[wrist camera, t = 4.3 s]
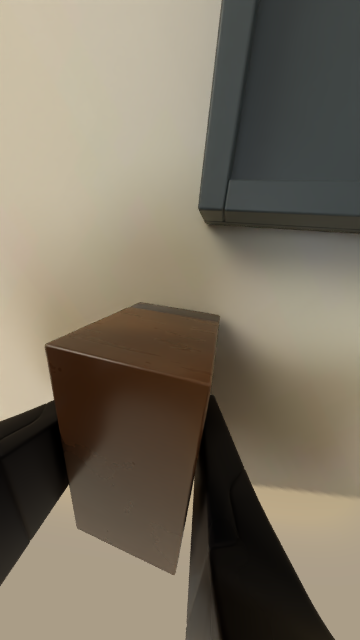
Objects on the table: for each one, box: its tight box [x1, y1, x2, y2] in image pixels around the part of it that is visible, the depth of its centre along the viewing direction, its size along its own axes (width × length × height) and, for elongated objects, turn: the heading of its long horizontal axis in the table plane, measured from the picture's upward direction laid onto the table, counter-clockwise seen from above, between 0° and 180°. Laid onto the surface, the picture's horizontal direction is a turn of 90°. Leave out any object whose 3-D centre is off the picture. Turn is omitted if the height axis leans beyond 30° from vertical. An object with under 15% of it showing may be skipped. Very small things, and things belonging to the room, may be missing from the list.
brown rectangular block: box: [45, 302, 220, 575], centre depth 7 cm, size 4×8×5 cm, turn 174°
